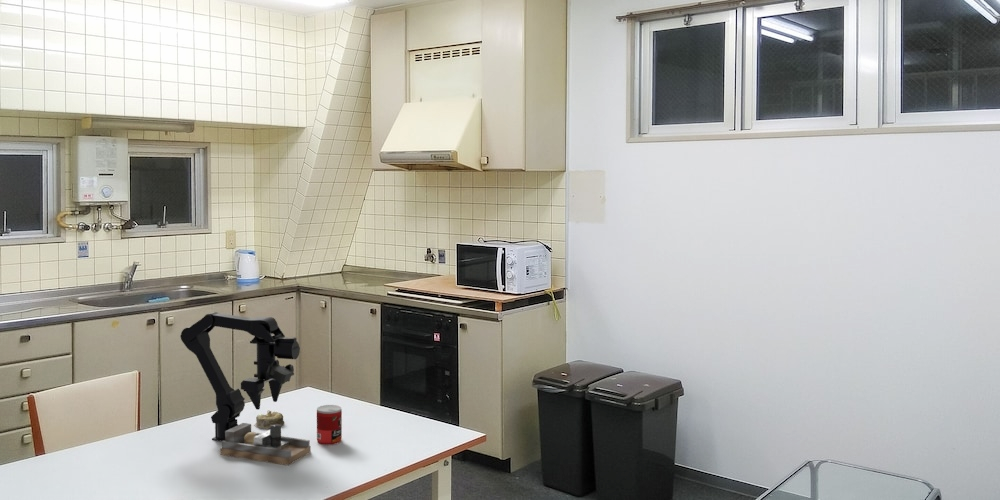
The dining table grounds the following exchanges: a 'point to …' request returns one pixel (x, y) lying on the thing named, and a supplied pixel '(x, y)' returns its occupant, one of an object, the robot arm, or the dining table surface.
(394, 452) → the dining table surface
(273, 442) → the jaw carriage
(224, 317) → the robot arm
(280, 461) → the press base
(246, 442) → the tan rounded piece
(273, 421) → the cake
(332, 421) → the canned food
